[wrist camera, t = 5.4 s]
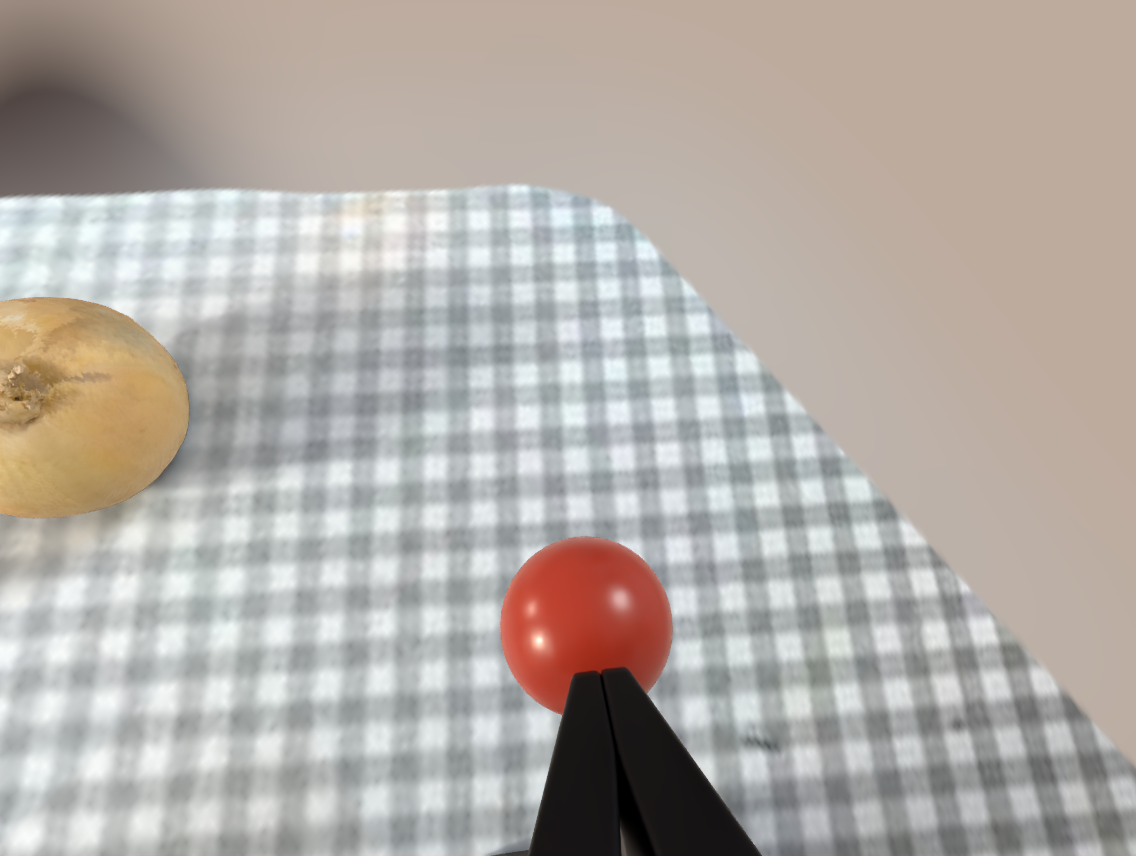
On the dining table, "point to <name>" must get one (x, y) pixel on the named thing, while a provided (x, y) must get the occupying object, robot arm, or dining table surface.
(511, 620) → the lever
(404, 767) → the dining table surface
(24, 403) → the onion
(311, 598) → the dining table surface
